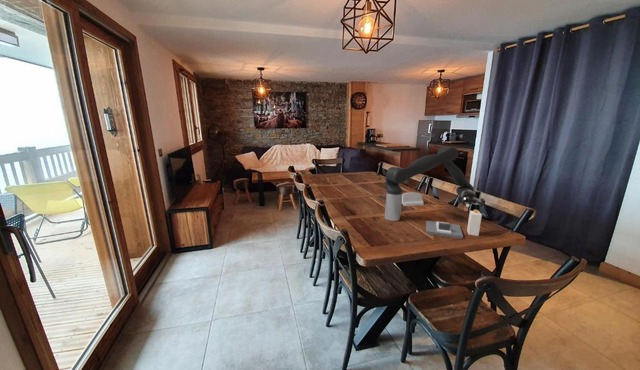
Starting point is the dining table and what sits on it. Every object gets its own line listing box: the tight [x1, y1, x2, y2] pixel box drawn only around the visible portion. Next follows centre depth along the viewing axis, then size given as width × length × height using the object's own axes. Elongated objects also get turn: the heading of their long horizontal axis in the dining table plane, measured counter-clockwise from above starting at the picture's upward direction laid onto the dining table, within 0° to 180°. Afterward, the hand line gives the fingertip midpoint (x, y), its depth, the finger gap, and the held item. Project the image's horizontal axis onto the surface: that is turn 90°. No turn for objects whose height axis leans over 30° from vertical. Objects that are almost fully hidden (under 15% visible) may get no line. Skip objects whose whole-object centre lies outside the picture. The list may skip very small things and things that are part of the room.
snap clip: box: [438, 221, 451, 230], centre depth 139 cm, size 6×2×3 cm, turn 68°
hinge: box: [401, 191, 425, 207], centre depth 187 cm, size 17×5×10 cm, turn 98°
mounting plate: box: [425, 220, 464, 240], centre depth 142 cm, size 18×16×2 cm
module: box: [466, 209, 482, 237], centre depth 137 cm, size 5×6×14 cm
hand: (472, 204), depth 146 cm, fingers open, 8 cm apart
